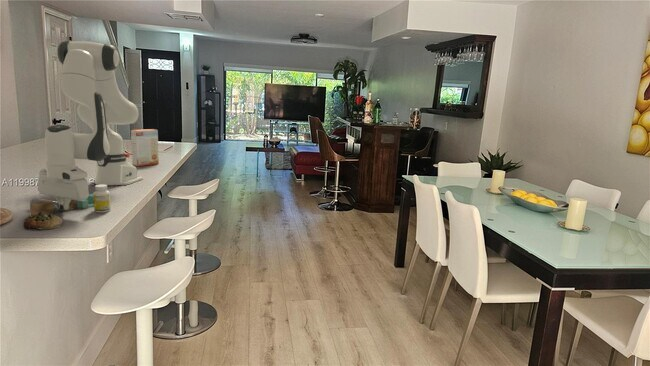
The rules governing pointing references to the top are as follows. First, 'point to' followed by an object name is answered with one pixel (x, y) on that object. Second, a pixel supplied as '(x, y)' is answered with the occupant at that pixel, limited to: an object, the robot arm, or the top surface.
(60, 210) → the axle
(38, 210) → the pair of brown blocks
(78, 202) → the cradle
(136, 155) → the cracker box
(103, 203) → the supplement bottle
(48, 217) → the bread roll
